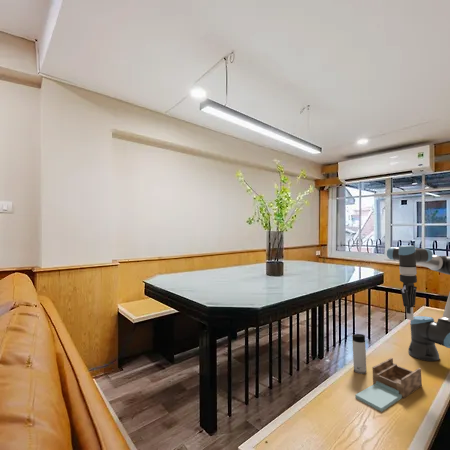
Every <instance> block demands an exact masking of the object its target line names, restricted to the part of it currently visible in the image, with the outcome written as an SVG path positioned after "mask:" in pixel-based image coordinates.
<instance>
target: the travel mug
mask: <svg viewBox="0 0 450 450" xmlns="http://www.w3.org/2000/svg"><path fill="white" fill-rule="evenodd" d="M366 350H367V349H366V335H364V334H361V333H356V334H352V353H353V354H352V358H353V359H352V360H353V362H352V363H353V371H354V372H355V373H356V374H360V375H361V374H362V375H363V374H366V373H368V372H367V355H366V354H367V351H366Z"/></svg>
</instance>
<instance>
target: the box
mask: <svg viewBox="0 0 450 450" xmlns="http://www.w3.org/2000/svg"><path fill="white" fill-rule="evenodd" d="M371 368H372V385H374V384H375V383H376V381H378V382H381V383H383V384H385V385H387V386H390V387H392V388H394V389H396V390H398V391H399V394H401V395H402V398H401V399H403V400H404V399H405V398H407V397H408V396H410V395H411V394H412V393H414V392H415V391H417V390H418V389H419V388H421V387H422V385H423V384H422V368H421V367H418V368H416V369H415V370H410V369H407V368H405V367H402V366H399V365H397V363H394V358H393V357H390V358H388V359H386V360H384V361H382V362H380V363H378V364H375V366H372V367H371Z"/></svg>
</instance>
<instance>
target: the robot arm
mask: <svg viewBox="0 0 450 450" xmlns="http://www.w3.org/2000/svg"><path fill="white" fill-rule="evenodd" d="M386 256H387V258H388V260H393V261H398V263H399V265H398V266H399V268H398V269H399V281H400V282H401V283H402V288H400V292H401V298H402V304H403V307H405V312H406V314H405V315H406V319H407V320H410V322H409V324H410V339H411V340H410V343H409V346H408V350H407V351H408V354H409V355H410V356H411V357H413V358H415V359H418V360H422V361H427V362H437V361H439V360H440V353H439V351H438V349H437V347H436V345H440V346H443V347H445V348H447V349H450V292H449V293H448V297H447V300H446V303H445V307H444V310H443V313H442V316H441V317H439V318H438V319H437V321H435V320H434V318H433V317H431V316H423V315H421V316H420V315H417V316H416V315H415V316H414V308H416V300H417V299H416V296H417V288H418V287H417V286H415V284H417V282H418V280H417V279H418V277H417V274H418V272H417V266H420V267H425V268H428V269H430V271H431V270H432V271H434V272H438V273H442V274H445V275H447V276H450V255H444V256H443V255H435V254H433V252H432V250H431V249H429V248H424V247H419V248H417V247H416V246H415V245H409V244H408V245H400V246H398V247H396V246H391V247H388V249H387V250H386Z"/></svg>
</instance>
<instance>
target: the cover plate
mask: <svg viewBox="0 0 450 450" xmlns="http://www.w3.org/2000/svg"><path fill="white" fill-rule="evenodd" d="M355 399H357V400H358V401H360V402H362V403H365V405H368V406H370V407H372V408H373V409H375V410H377V411H380V412H381V413H382V412H384V411H385V410H387V409H388V408H390V407H391V406H393V405H394V404H396V403H397V402H398V401H400V400H401V399H403V398H402V395H401V394H399V391H398V390H396V389H394V388H392V387H390V386H387V385H385V384H383V383H381V382H378V381H376V383H375V384H374V385H373V384H372V385H370V386H368V387H367V388H365V389H363V390H361V391H359V392H357V393H355Z"/></svg>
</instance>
